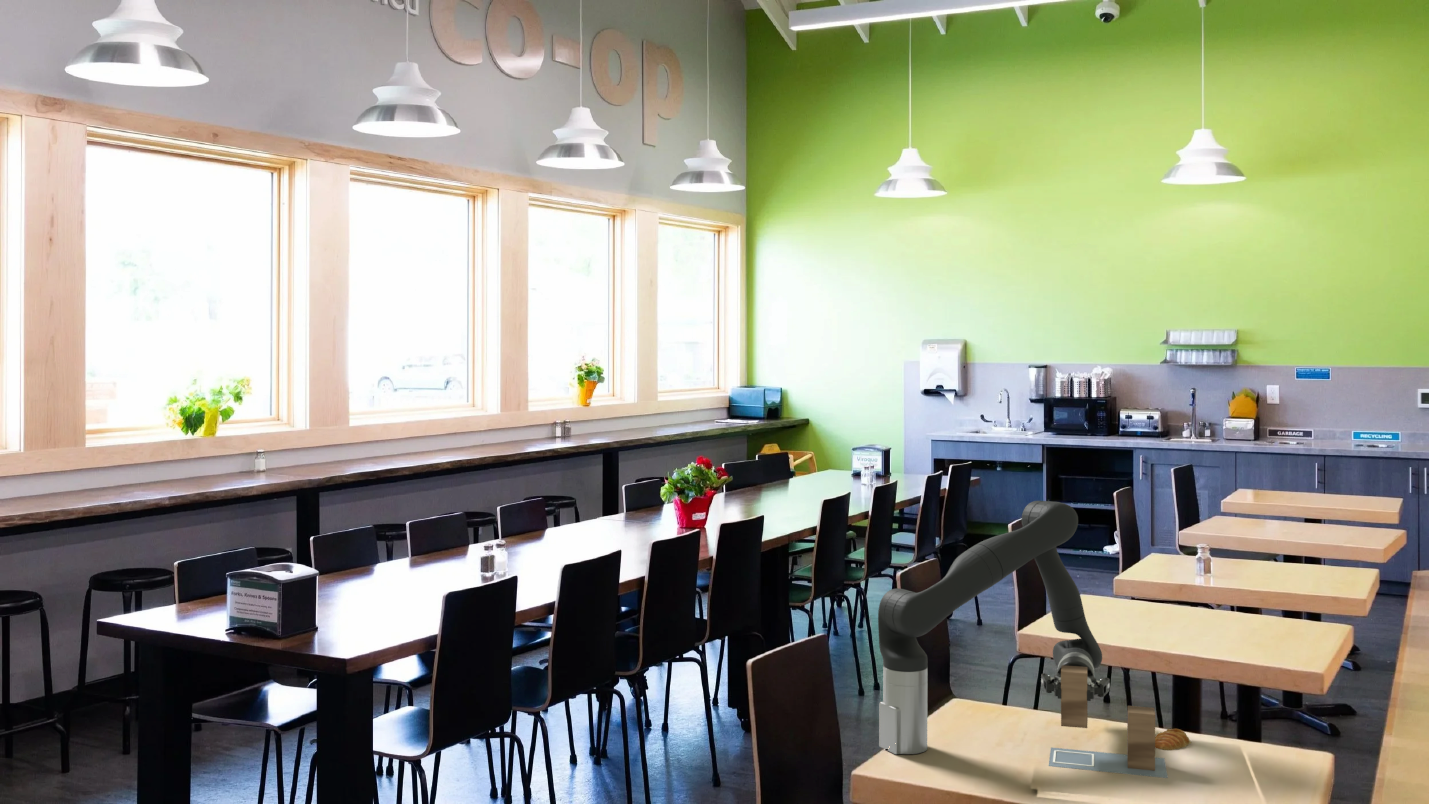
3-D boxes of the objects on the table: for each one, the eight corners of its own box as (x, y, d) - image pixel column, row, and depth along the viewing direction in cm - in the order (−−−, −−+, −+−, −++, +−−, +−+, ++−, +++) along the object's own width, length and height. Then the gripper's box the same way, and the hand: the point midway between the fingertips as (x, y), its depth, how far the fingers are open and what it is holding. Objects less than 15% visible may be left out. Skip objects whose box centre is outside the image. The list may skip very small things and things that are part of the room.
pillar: (1087, 728, 229) (1087, 673, 229) (1061, 726, 231) (1060, 671, 231) (1087, 720, 234) (1087, 667, 234) (1061, 718, 236) (1061, 665, 235)
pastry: (1176, 759, 236) (1175, 741, 236) (1143, 752, 241) (1143, 734, 241) (1193, 748, 243) (1193, 730, 243) (1161, 742, 248) (1161, 724, 248)
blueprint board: (1167, 784, 221) (1167, 777, 221) (1048, 771, 228) (1048, 765, 228) (1164, 764, 233) (1164, 757, 233) (1050, 753, 240) (1050, 746, 240)
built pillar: (1155, 770, 225) (1155, 714, 225) (1127, 768, 227) (1128, 712, 227) (1153, 762, 230) (1154, 707, 230) (1127, 760, 232) (1127, 705, 231)
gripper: (1040, 653, 248) (1036, 673, 232) (1111, 658, 243) (1112, 678, 227) (1040, 688, 248) (1036, 710, 232) (1111, 693, 244) (1112, 716, 228)
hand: (1074, 694), depth 230 cm, fingers closed on pillar, 5 cm apart
